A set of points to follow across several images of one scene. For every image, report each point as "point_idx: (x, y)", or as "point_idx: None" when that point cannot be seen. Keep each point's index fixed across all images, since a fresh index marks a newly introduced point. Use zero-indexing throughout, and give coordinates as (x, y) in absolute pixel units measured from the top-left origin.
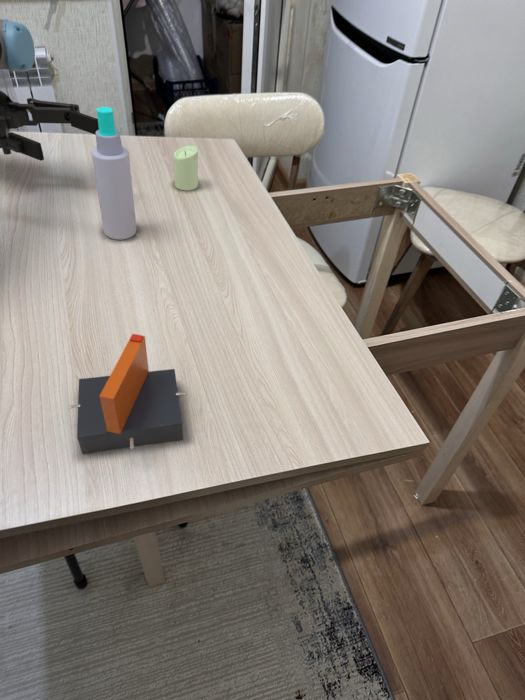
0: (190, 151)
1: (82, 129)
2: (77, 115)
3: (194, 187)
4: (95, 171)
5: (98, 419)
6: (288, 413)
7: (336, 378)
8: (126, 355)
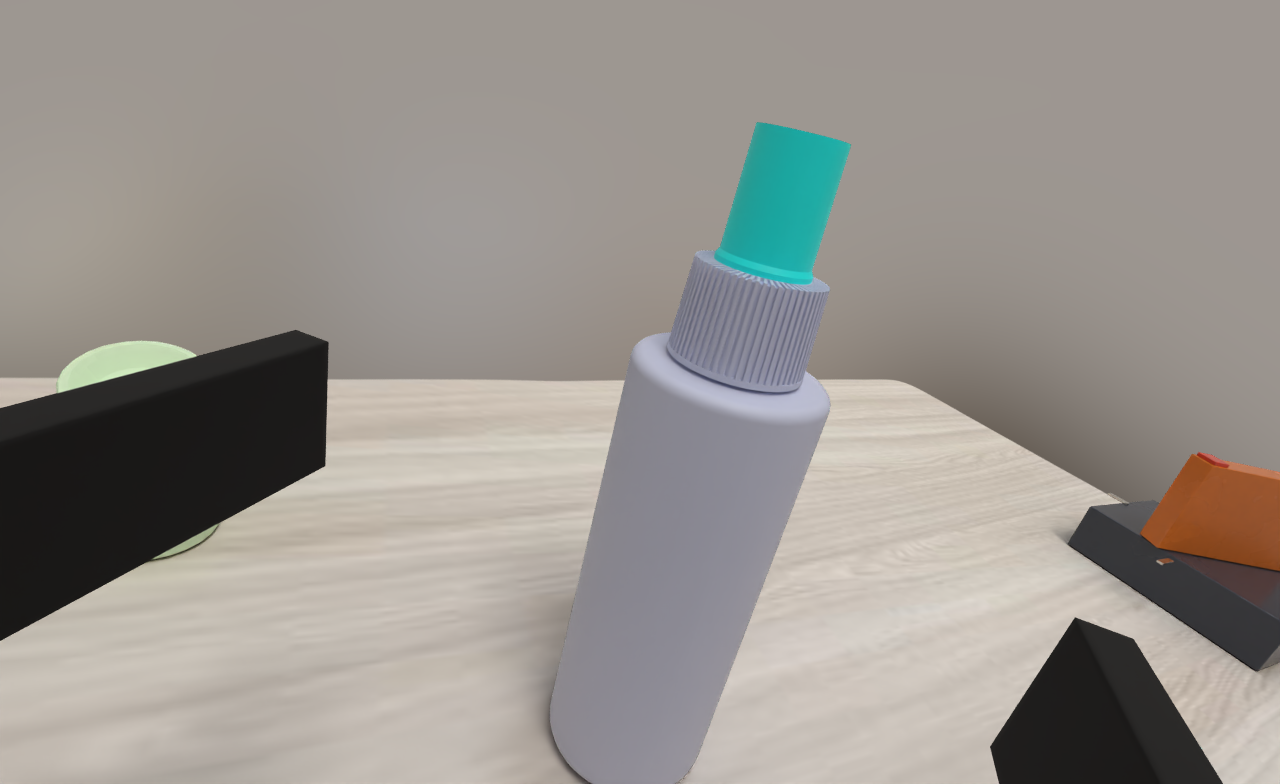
0: (119, 373)
1: (128, 564)
2: (44, 447)
3: None
4: (787, 501)
5: None
6: (972, 446)
7: (875, 405)
8: (1254, 471)
